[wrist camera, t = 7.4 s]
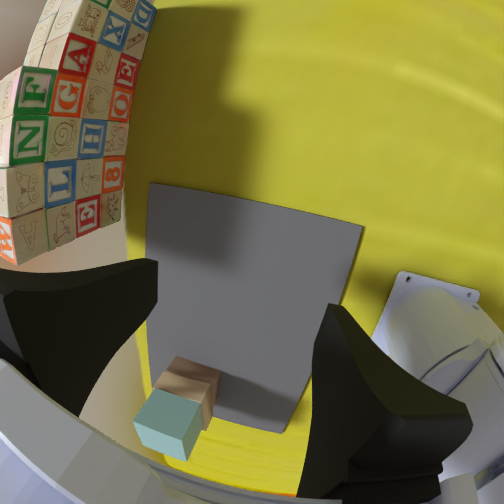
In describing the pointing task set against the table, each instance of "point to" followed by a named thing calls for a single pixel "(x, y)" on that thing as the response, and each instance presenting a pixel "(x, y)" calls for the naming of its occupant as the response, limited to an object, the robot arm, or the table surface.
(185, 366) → the walnut slab
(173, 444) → the teal cube
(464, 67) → the table surface
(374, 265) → the table surface
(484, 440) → the robot arm
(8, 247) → the stack of blocks
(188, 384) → the oak slab
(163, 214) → the rubber mat
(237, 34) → the table surface
